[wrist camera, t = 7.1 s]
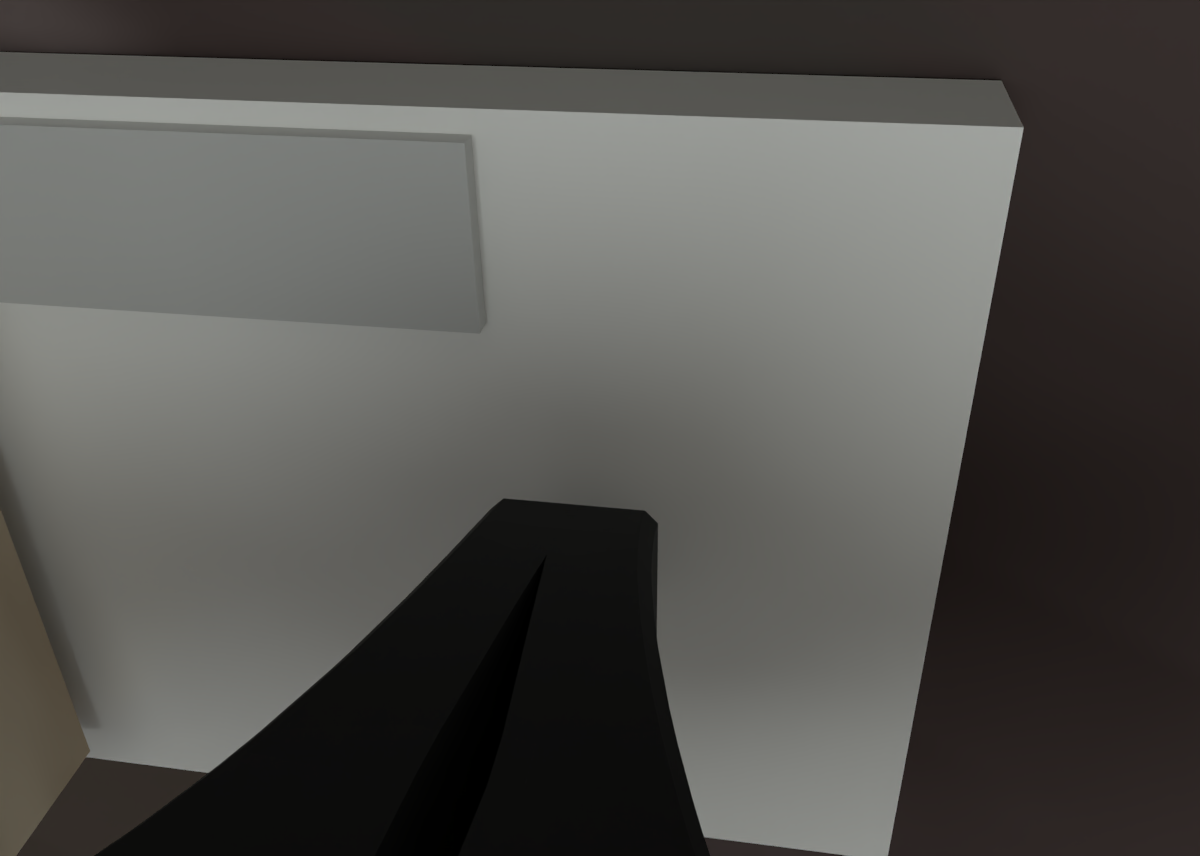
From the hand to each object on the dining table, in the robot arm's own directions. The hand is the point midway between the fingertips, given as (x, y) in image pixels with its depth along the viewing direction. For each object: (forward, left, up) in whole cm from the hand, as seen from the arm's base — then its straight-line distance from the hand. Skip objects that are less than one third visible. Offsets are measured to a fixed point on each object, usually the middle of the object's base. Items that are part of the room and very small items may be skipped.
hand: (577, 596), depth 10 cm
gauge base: (-7, 0, -2) cm, 7 cm away
